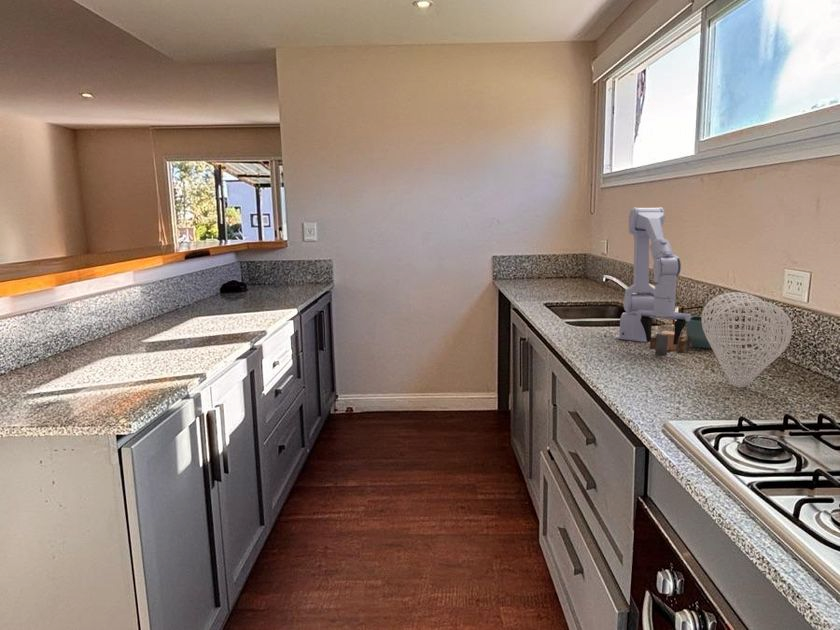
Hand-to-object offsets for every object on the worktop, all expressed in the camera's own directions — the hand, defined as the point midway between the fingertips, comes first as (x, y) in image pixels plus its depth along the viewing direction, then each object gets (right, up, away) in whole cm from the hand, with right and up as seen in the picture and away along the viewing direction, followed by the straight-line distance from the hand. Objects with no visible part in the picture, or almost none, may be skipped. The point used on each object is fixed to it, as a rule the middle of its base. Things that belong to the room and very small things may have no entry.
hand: (661, 342), depth 171 cm
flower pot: (+17, -2, +11) cm, 21 cm away
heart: (+4, -9, -34) cm, 35 cm away
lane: (+6, -2, +9) cm, 11 cm away
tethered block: (+3, -3, +5) cm, 7 cm away
